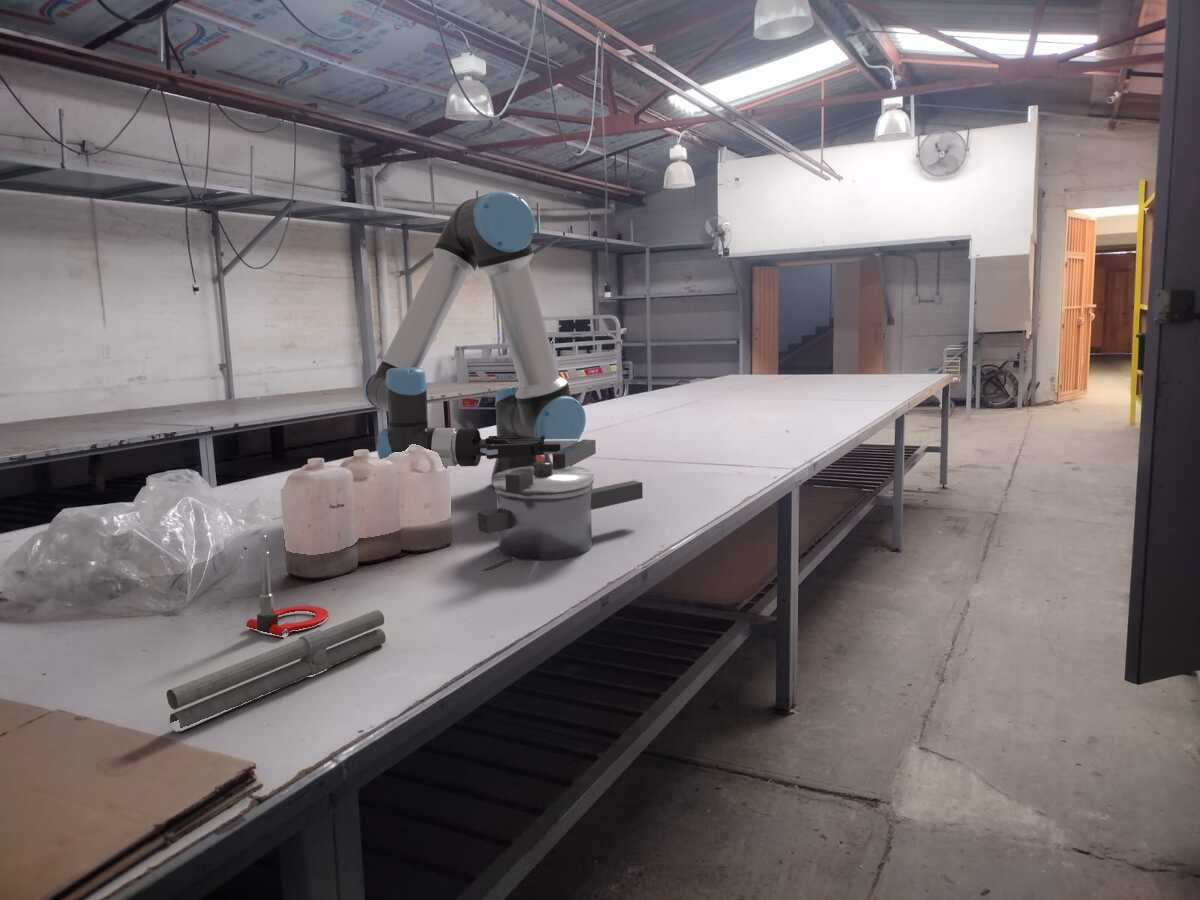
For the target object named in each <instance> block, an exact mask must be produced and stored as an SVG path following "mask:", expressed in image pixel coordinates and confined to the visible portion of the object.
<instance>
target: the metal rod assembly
mask: <svg viewBox="0 0 1200 900" xmlns="http://www.w3.org/2000/svg"><path fill="white" fill-rule="evenodd" d="M384 624H385V617H384V614H383V612H382V611H381V610H379V609H375V610H373V611H371V612H370V611H369V612H368V613H365V614H362V615H360V616H357V617H355V618H352V619H349V620H347V621H345V622H342V623H340V624H337V625H334V626H332V627H329V628H326V629H323V630H320V629H319V630H314V631H311V632H308V633H307V634H304V635H302V636H299V637H298V639H296V640H294V641H290V642H288V643H286V644H284V645H282V646H281V645H280V646H278V647H276V648H273V649H271V650H268V651H265V652H263V653H260V654H258V655H255V656H253V657H250V658H247V659H245V660H243V661H239V662H238V663H235V664H233V665H229V666H228V667H227V666H226V667H225V668H222V669H220V670H217V671H214V672H211V673H209V674H207V675H203V676H202V677H198V678H196V679H194V680H191V681H188V682H187V683H183V684H181V685H177V686H176V687H173V688H170V689H168V690H167V691H166V699H167V703H168V705H169V707H170V708H171V709H172V710H178V709H179V710H178V711H174V712H173V713H171V714H170V715H169V724H170V723H172V722H174V721H177V720H179V723H180V728H183V727H185V726H189V725H191V724H193V723H196V722H198V721H200V720H202V719H205V718H208V717H210V716H213V715H215V714H217V713H220V712H222V711H224V710H228V709H230V708H233V707H236V706H239V705H241V704H243V703H245V702H248V701H250V700H253V699H255V698H257V697H259V696H261V695H265V694H267V693H269V692H272V691H274V690H277V689H279V688H282V687H284V686H286V685H289V684H291V683H293V682H295V681H298V680H300V679H302V678H305V677H307V676H310V675H314V674H317V673H319V672H321V671H324V670H325V669H328V670H329V668H330V667H329V666H331V665H334V664H336V663H338V662H340V663H342V662H341V661H343V660H345V659H347V660H349V659H351V658H350V657H352V656H354V655H356V654H358V655H360V654H359V653H361V654H362V652H363V653H365V652H367V651H366V650H368V649H370V650H372V649H374V648H373V647H375V648H377V647H379V646H381V644H382V645H384V644H385V642H386V639H387V638H386V633H385V632H384V630H383V629H382V628H379V627H381V626H382V625H384ZM373 629H374V630H373ZM365 632H366V633H365ZM363 633H364V634H363ZM356 636H357V637H356ZM344 641H345V642H344ZM383 643H384V644H383ZM337 644H338V645H337ZM378 645H379V646H378ZM376 646H377V647H376ZM371 648H372V649H371ZM364 651H365V652H364ZM368 651H369V650H368ZM356 656H357V655H356ZM354 657H355V656H354ZM348 658H349V659H348ZM352 658H353V657H352ZM345 661H346V660H345ZM343 662H344V661H343ZM338 664H339V663H338ZM286 665H287V666H286ZM336 665H337V664H336ZM334 666H335V665H334ZM280 667H281V668H280ZM331 667H332V666H331ZM276 669H277V670H276ZM271 671H272V672H271ZM268 672H269V673H268ZM266 673H267V674H266ZM263 674H264V675H263ZM261 675H263V676H261ZM259 676H260V677H259ZM256 677H257V678H256ZM254 678H255V679H254ZM307 678H308V677H307ZM251 679H253V680H251ZM305 679H306V678H305ZM249 680H250V681H249ZM247 681H248V682H247ZM300 681H301V680H300ZM298 682H299V681H298ZM239 684H240V685H239ZM237 685H238V686H237ZM291 685H292V684H291ZM234 686H236V687H234ZM289 686H290V685H289ZM231 687H233V688H231ZM229 688H230V689H229ZM284 688H285V687H284ZM227 689H229V690H227ZM282 689H283V688H282ZM223 690H224V692H221V691H223ZM225 690H226V691H225ZM277 691H278V690H277ZM219 692H221V693H219ZM217 693H219V694H217ZM215 694H216V695H215ZM212 695H214V696H212ZM209 696H211V697H209ZM207 697H209V698H207ZM205 698H207V699H205ZM203 699H204V700H203ZM199 700H201V701H200V702H197V701H199ZM195 702H196V703H195ZM192 703H195V704H192ZM190 704H192V705H190ZM187 705H189V706H187ZM185 706H187V707H185ZM182 707H185V708H182ZM180 708H182V709H180Z"/></svg>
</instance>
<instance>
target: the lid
mask: <svg viewBox="0 0 1200 900" xmlns="http://www.w3.org/2000/svg"><path fill="white" fill-rule="evenodd" d="M596 447H597V446H596V439H582V440H580V441H579V440H578V442H577V443H575V444H573V445H570V446H568V447H566V448H564V449H561V450H559V451H557V452H555V453H552V454H551V455H552V456H551V457H552V461H551V462H545V455H536V462H535V463H534V466H527V467H519V468H513V469H508V470H504V471H501V472H498V473H496V474H495V475H494V476H493V485H494V487H495V488H497V489H500V490H503V491H507V492H515V493H530V494H541V493H558V492H566V491H572V490H577V489H581V488H585V487H587V486H590V485H591V484H594V483H595V482H594V481H595V480H594V479H595V478H594V472H593V471H592V470H590V469H588V468H584V467H581V466H574V465H576V464H578V463H580V462H582V461H584V460H586V459H587V458H589V457H592V456H593V455H596V454H597V452H596ZM495 488H494V489H495Z"/></svg>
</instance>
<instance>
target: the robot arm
mask: <svg viewBox="0 0 1200 900" xmlns="http://www.w3.org/2000/svg"><path fill="white" fill-rule="evenodd" d="M535 231H536V221H535V216H534V213H533V211H532V209H531V207H530V206H529V204H528V203H527V202H526V201H525V200H524V199H523V198H522V197H520V196H518V195H517V194H515V193H512V192H509V191H494V192H493V191H491V192H489V193H486V194H483V195H481V196H478V197H476V198H470V199H467V200H466V201H464V202H462V203H460V204H459V206H457V207H456V209H454V211H453V213H452V214H451V215H450V216H449V219H448V220H447V222H446V224H445V226H444V227H443V229H442V232H441V233H440V235H439V237H438V240H437V241H436V244H435V246H434V248H433V250H432V254H433V257H434V258H433V260H432V262H431V265H430V267H429V268H428V270H427V273H426V275H425V276H424V278H423V280H422V282H421V284H420V286H419V288H418V290H417V291H416V294H415V296H414V298H413V300H412V302H411V304H410V305H409V307H408V309H407V311H406V313H405V316H404V317H403V320H402V321H401V323H400V324H399V327H398V329H397V331H396V333H395V335H394V336H393V339H392V341H391V343H390V345H389V347H388V349H387V351H386V353H385V355H384V357H383V359H382V361H381V362H380V364H379V365H378V367H377V369H376V371H375V373H373V374H371V375H370V376H369V377H367V378H366V380H365V381H364V383H363V388H362V391H363V392H362V393H363V397H364V400H365V401H366V402H367V403H368V404H369V405H370V406H372V407H373V408H375V409H376V410H381V411H385V412H387V414H388V427H387V428H383V429H382V430H380V431H379V434H378V436H377V445H376V451H377V456H378V458H379V460H380V459H383V458H386V457H388V456H389V455H390V454H392V453H394V452H402V451H405V450H406V449H407V448H408V447H409V445H411V444H416V445H420V446H422V447H424V448H426V449H429V450H432V451H435V452H437V453H438V454H439V456H440V458H441V461H442V464H443V466H444V467H445V468H446V469H445V470H447V469H448V467H456V466H460V467H477V466H479V464H480V463H481V459H482V457H486V459H488V460H493V459H495V462H494V466H493V469H492V471H491V476H490V477H491V481H490V482H491V484H490V485H491V487H492V488H494V489H495V487H494V485H493V476H494V475H495V474H496V473H498V472H501V471H504V470H508V469H513V468H519V467H527V466H534V463H535V462H536V455H545V462H552V460H551V457H550V455H552V453H555V452H557V451H559V450H561V449H564V448H566V447H568V446H570V445H573V444H575V443H577V442H579V439H580V438H581V435H583V433H584V430H585V427H586V424H587V423H586V422H587V420H586V419H587V417H586V411H585V409H584V407H583V405H582V404H581V403H580V402H579V400H577V399H576V398H574V397H573V396H572V393H571V389H570V386H569V383H568V380H567V379H565V378H563V377H562V376H560V375H559V371H558V369H557V368H558V367H557V366H556V362H555V358H554V357H555V356H554V353H553V350H552V347H551V342H550V339H549V335H548V331H547V327H546V323H545V319H544V316H543V313H542V309H541V305H540V301H539V298H538V293H537V291H536V290H537V289H536V287H535V282H534V279H533V275H532V272H531V268H530V263H531V261H532V259H533V258H534V255H535V253H534V250H533V246H532V240H533V237H534V235H535V233H536V232H535ZM477 267H478V270H480V271H482V272H483V273H485V274H486V275H488V279H489V283H490V285H491V290H492V293H493V296H494V300H495V303H496V308H497V310H498V313H499V318H500V321H501V325H502V329H503V333H504V335H505V340H506V342H507V345H508V346H507V347H508V348H509V353H510V357H511V359H512V363H513V366H514V370H515V373H516V378H517V381H518V384H519V385H518V386H511V387H503V388H499V389H498V390H497V391H496V392H495V400H494V401H495V402H494V407H495V423H496V425H495V427H496V435H489V436H488V437H486V438H483V439H482V437H481V432H480V430H479V429H478V428H476V427H461V428H459V429H458V428H457V427H436V428H435V427H434V428H432V427H431V428H430V427H429V417H428V396H427V395H428V393H427V389H428V384H427V379H426V373H425V371H424V369H423V368H421V366H422V365H423V362H424V360H425V358H426V356H427V355H428V353H429V351H430V349H431V347H432V344H433V342H434V340H435V339H436V337H437V336H438V333H439V332H440V330H441V327H442V325H443V323H444V321H445V320H446V317H447V315H448V314H449V311H450V309H451V307H452V306H453V304H454V302H455V299H456V298H457V296H458V294H459V292H460V290H461V288H462V286H463V284H464V282H465V281H466V278H467V277H468V276H469V275H473V274H474V273H475V271H476V269H477ZM443 466H442V467H443Z"/></svg>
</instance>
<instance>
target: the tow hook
mask: <svg viewBox="0 0 1200 900" xmlns="http://www.w3.org/2000/svg"><path fill="white" fill-rule="evenodd" d="M267 538H268V537H267V535H265V534H263V535H260V536H259V545H260V546H259V547H260V551H259V553H258V556H259V557H258V558H259V559H258V562H259V575H260V576H259V577H260V578H259V579H260V580H259V581H260V593H261V594H260V595H259V597H258V599H259V613H258V614H256V618H249V619H248V620H247V621H246V626H245V627H246V628H247V627H249V628H253V629H257V630H259V631H263V632H267V633H272V634H275V635H279V636H282V635H284V634H285V633H286V634H287V633H289V634H291V633H290V631H292V630H299V629H303V628H308V627H312V626H315V625H317V624H319V623H321V622H323V621H324V620H325V619H326V618H327V617H328V618H329V611H328V610H327V609H326V608H323V607H320V606H316V605H315V606H314V605H313V606H312V605H295V606H286V607H281V608H278V609H274V608H275V604H274V594H273V593H272V586H271V584H272V583H271V566H270V563H271V562H270V551H268V542H267V541H268V539H267ZM295 611H309V612H312V613H315V614H316V616H314V617H312V618H310V619H307V620H303V621H299V622H285V623H282V624H280V625H279V618H278V616H279V615H282V614H285V613H289V612H295Z"/></svg>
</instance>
